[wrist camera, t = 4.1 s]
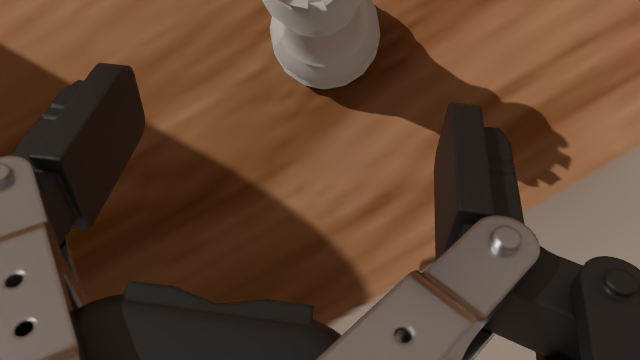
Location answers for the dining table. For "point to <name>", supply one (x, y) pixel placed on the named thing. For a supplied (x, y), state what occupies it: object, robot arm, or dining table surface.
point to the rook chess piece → (324, 39)
